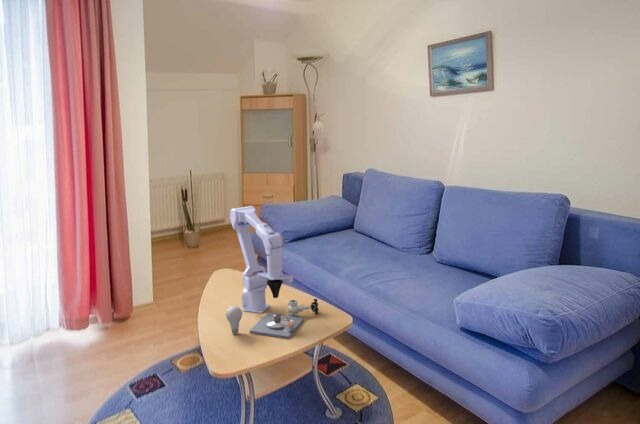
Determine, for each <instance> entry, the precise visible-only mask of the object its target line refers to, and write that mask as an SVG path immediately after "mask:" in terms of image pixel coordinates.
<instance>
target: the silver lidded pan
mask: <svg viewBox="0 0 640 424" xmlns="http://www.w3.org/2000/svg"><path fill="white" fill-rule="evenodd" d="M272 314H273V317H270V318H268V319H267V320H266V326H267V327H269V328H272V329H280V328H282V329H284V330H286V331H288V332H291V331H294V323H292V322H291V323H290V322H289V319H288V318H286V317H283V316H281V315H282V314H281V312H275V313H272Z"/></svg>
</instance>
